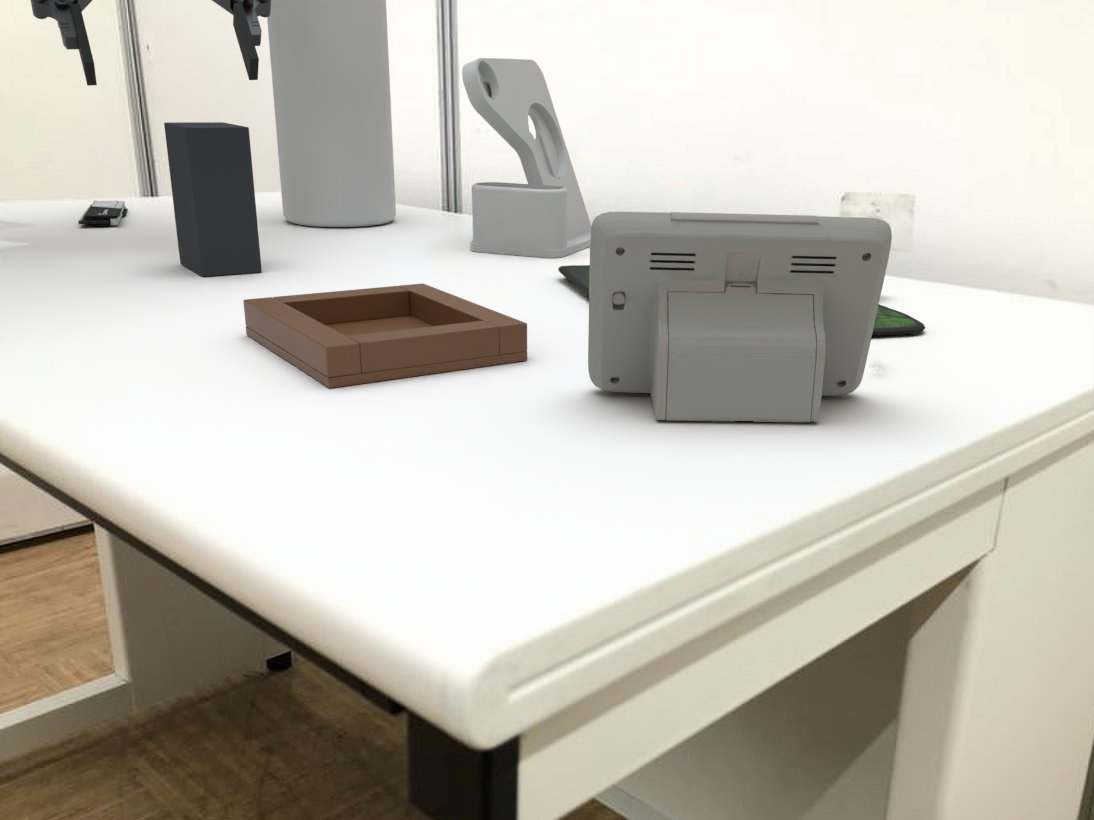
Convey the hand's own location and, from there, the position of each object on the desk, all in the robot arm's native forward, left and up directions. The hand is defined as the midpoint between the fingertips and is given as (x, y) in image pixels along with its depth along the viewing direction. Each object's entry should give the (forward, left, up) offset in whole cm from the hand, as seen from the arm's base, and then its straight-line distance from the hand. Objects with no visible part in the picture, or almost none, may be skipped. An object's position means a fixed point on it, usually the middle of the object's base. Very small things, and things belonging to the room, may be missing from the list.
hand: (174, 72), depth 98 cm
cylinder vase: (-2, +26, -16) cm, 31 cm away
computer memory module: (-24, +14, -16) cm, 32 cm away
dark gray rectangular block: (+7, -5, -16) cm, 18 cm away
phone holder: (+25, +23, -16) cm, 38 cm away
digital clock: (+59, -25, -16) cm, 66 cm away
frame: (+35, -23, -16) cm, 45 cm away
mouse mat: (+51, +2, -16) cm, 54 cm away
